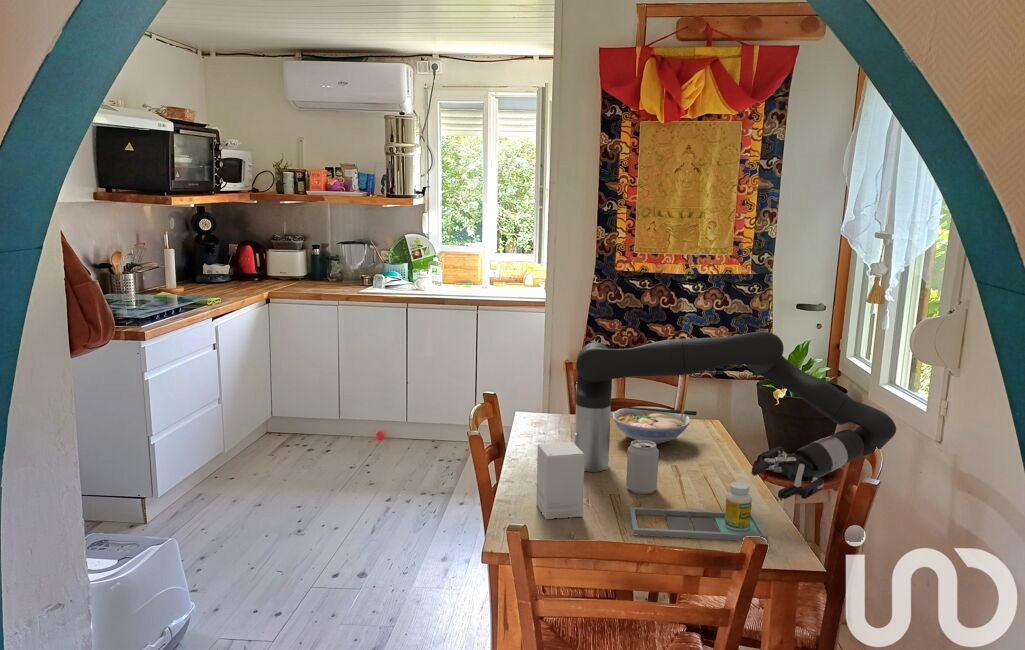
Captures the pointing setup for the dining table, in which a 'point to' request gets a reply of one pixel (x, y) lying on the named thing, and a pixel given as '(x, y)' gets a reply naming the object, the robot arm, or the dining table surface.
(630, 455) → the can
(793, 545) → the dining table surface
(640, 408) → the ramen bowl
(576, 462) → the supplement box
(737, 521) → the supplement bottle
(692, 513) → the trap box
